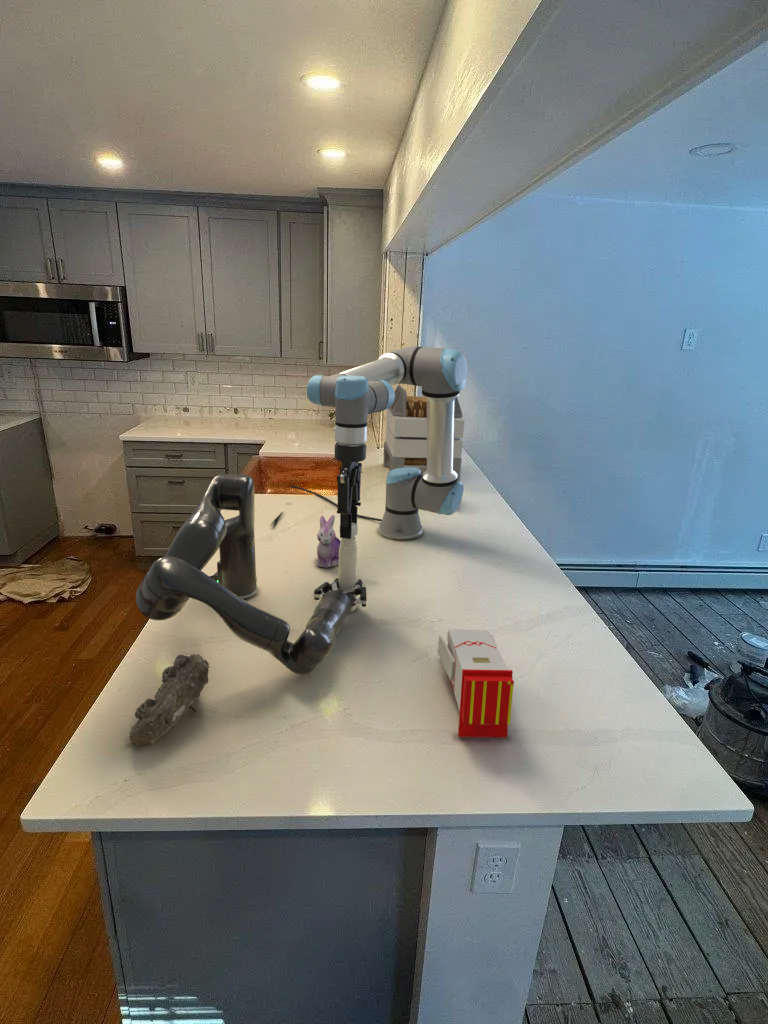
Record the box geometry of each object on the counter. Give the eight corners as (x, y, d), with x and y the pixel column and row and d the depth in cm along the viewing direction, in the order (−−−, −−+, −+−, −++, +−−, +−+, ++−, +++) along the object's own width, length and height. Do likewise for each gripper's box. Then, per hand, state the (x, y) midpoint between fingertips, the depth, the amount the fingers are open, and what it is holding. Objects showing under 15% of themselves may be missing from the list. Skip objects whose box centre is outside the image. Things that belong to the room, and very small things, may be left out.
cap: (336, 535, 141) (336, 526, 140) (344, 529, 145) (344, 520, 144) (352, 538, 140) (352, 529, 139) (360, 532, 143) (360, 523, 143)
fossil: (160, 655, 118) (210, 623, 113) (193, 685, 121) (243, 655, 116) (104, 739, 99) (161, 705, 94) (145, 772, 102) (202, 741, 97)
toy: (488, 613, 130) (523, 677, 101) (484, 667, 133) (517, 744, 104) (435, 612, 130) (455, 676, 101) (432, 666, 133) (451, 743, 103)
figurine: (321, 571, 169) (321, 524, 164) (309, 557, 177) (309, 512, 172) (350, 565, 173) (351, 520, 168) (337, 553, 182) (338, 509, 177)
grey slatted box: (382, 463, 289) (386, 382, 275) (445, 464, 293) (451, 384, 279) (390, 482, 257) (394, 392, 243) (460, 483, 261) (468, 394, 247)
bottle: (342, 602, 152) (343, 522, 144) (358, 605, 151) (360, 525, 143) (335, 610, 148) (336, 528, 140) (351, 613, 147) (353, 531, 139)
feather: (289, 506, 225) (292, 502, 225) (272, 529, 199) (275, 525, 198) (286, 503, 225) (288, 500, 225) (268, 527, 199) (271, 522, 198)
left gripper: (302, 622, 137) (324, 590, 152) (360, 630, 134) (376, 597, 150) (302, 594, 134) (324, 564, 150) (361, 602, 131) (377, 571, 147)
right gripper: (345, 434, 143) (344, 520, 151) (323, 449, 127) (323, 545, 135) (374, 436, 142) (371, 524, 150) (356, 452, 126) (353, 549, 134)
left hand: (350, 581), depth 150 cm, fingers closed on bottle, 4 cm apart
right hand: (348, 533), depth 142 cm, fingers closed on cap, 4 cm apart
